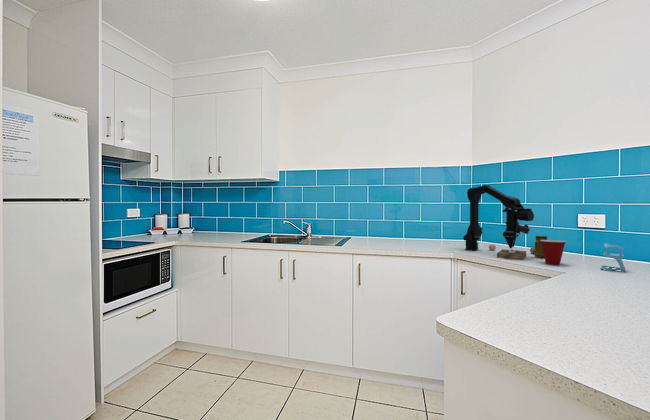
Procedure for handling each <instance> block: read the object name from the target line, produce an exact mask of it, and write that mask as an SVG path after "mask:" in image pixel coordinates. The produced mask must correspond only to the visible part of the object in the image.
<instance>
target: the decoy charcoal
mask: <svg viewBox="0 0 650 420" xmlns="http://www.w3.org/2000/svg"><path fill="white" fill-rule="evenodd" d="M529 252H530V253H531V254H533V255H535V246H532V247H530V249H529Z"/></svg>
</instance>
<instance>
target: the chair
mask: <svg viewBox="0 0 650 420" xmlns="http://www.w3.org/2000/svg"><path fill="white" fill-rule="evenodd" d="M603 245H604V246H603V247H604V252H603V257H605V258H611V259H613V260H615V261H616V262H617V263H618V265H619V267H617V266H616V267H615V266H611V265H609V266H608V265H601V264H600V270H601V269H605V270H604V271H607V270H621V271H620V272H622V271H626V272H627V270H626V266H625V265H624V262H623V259H624V254H623V251H624V247H623V246H620V245H617V244H615V243H607V242H606V243H604V244H603ZM608 249H616V250H618V253H610V252H608ZM603 267H609V268H603ZM612 268H616V269H612Z"/></svg>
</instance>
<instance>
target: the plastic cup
mask: <svg viewBox="0 0 650 420" xmlns="http://www.w3.org/2000/svg"><path fill="white" fill-rule="evenodd" d="M540 241H541V244H542V247H543V253H544V257H545V259H544V261H545V264H547V265H553V266H554V265H555V266H559V265H560V264H561V261H562V258H563V252H564V248H565V245H566V243H567V240H556V239H555V240H554V239H547V240H540Z"/></svg>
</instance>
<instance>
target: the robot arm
mask: <svg viewBox="0 0 650 420" xmlns="http://www.w3.org/2000/svg"><path fill="white" fill-rule="evenodd" d="M485 193H486V194H487V195H489V196H491V197H492V198H494V199H496V200H498V201H499V202H501V205H503V206H504V207H505V208H504V209H503V210H502V211H501V212H502V213H503V212H504V213H506V215H505V219H506V221H505V230H504V231H503V232H502V237H503V238H504V239H505V241H506V244H507V245H508V247H509V249H510V250H511V249H513V248H515V244H516V240H517V239H518V237H519V236H520V235H521V233H523V234H524V235H525V234H526V235H528V234H529V233H530V231H531V228H530V227H529V225H528V224H524V225H523V224H520V222H519V221H521V222H532V221H534V218H535V214H534V212H533V210H532V208H525V207H524V206H523V205H522V203H521V201H520V199H519V198H517V197H514V196H511V195H507V194H505V193H503V192H501V191H500V190H498V189H496V188H494V187H493V186H491V185H490V184H483V185H480V186H477V187H476V186H475V187H470V188H468V189H467V190H466V196H467V199H468V201H469V225H468V227H467V230H466V234H464V236H463V237H462V239H463V241H465V249H464V250H466V251H472V252H473V251H477V250H479V242H478V241H479V240H480V239H481V237H482V234H483V227H481V226H480V225H479V215H480V214H479V210H480V209H479V208H480V207H479V205H480V204H479V203H480V200H481V199H482V195H484V194H485Z"/></svg>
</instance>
